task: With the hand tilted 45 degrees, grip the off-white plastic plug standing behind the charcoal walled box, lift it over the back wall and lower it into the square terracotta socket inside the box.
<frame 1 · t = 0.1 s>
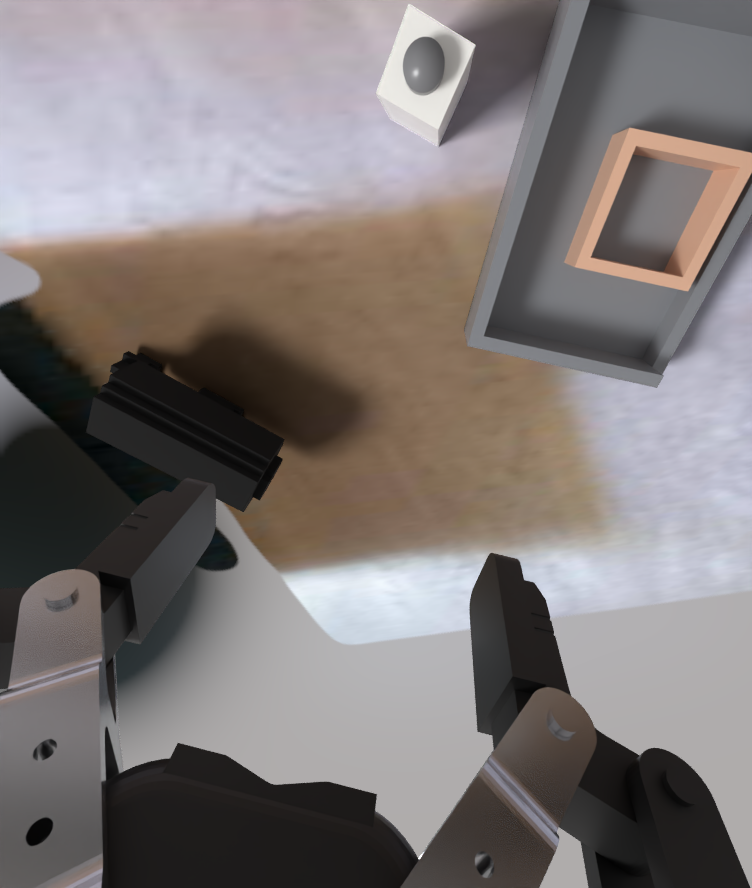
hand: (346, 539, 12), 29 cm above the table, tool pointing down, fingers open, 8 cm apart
security camera: (214, 402, 45), on the table
plug: (427, 101, 30), on the table
walled box: (610, 208, 32), on the table
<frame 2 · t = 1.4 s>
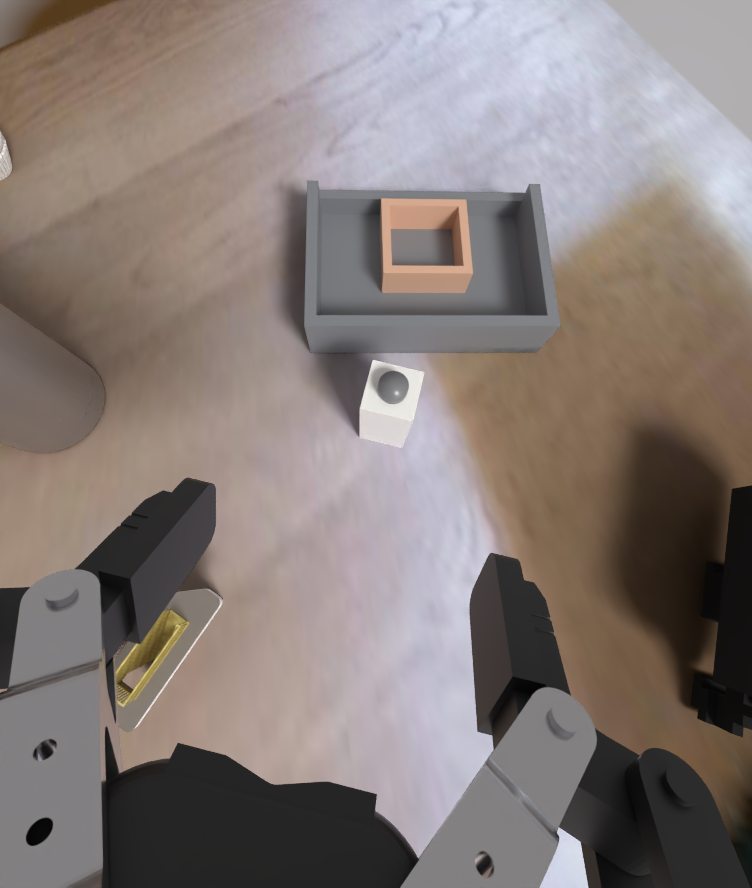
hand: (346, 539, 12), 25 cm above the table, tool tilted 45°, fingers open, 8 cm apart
security camera: (714, 602, 36), on the table
plug: (385, 422, 39), on the table
walled box: (421, 280, 43), on the table
platform: (185, 634, 34), on the table
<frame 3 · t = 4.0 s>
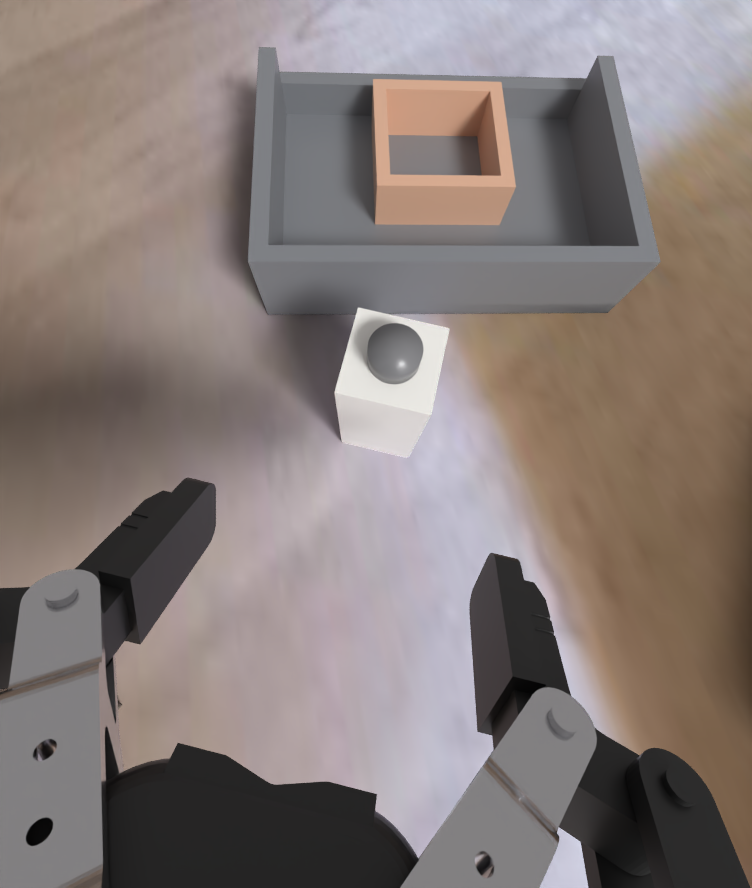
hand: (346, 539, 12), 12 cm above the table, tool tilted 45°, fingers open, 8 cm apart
plug: (382, 418, 25), on the table
walled box: (432, 210, 29), on the table
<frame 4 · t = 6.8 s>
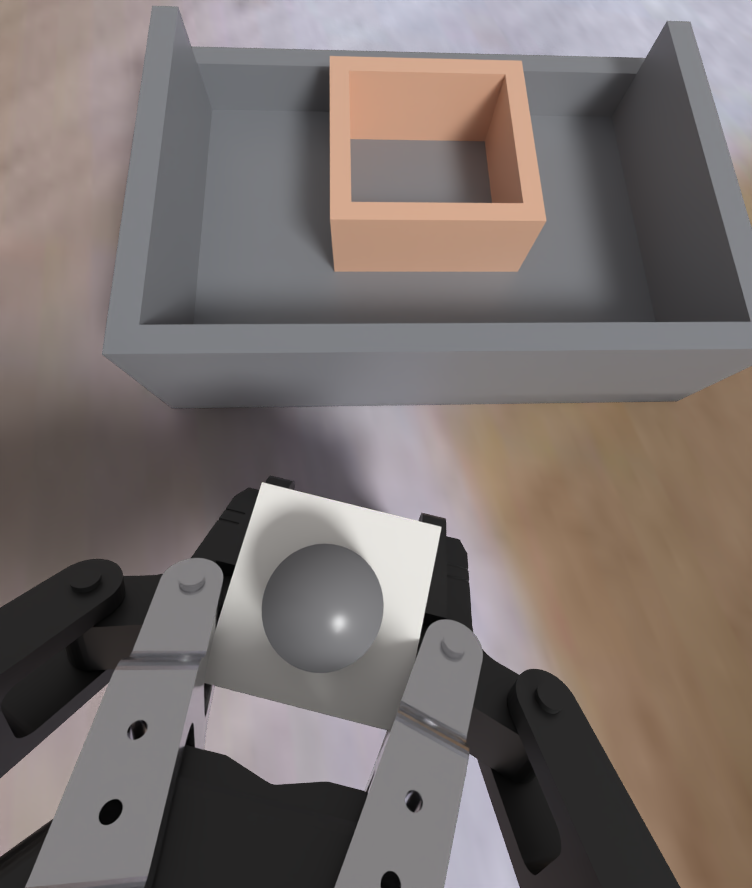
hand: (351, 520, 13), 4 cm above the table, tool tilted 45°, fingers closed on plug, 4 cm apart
plug: (341, 577, 16), on the table, touching gripper
walled box: (421, 247, 20), on the table
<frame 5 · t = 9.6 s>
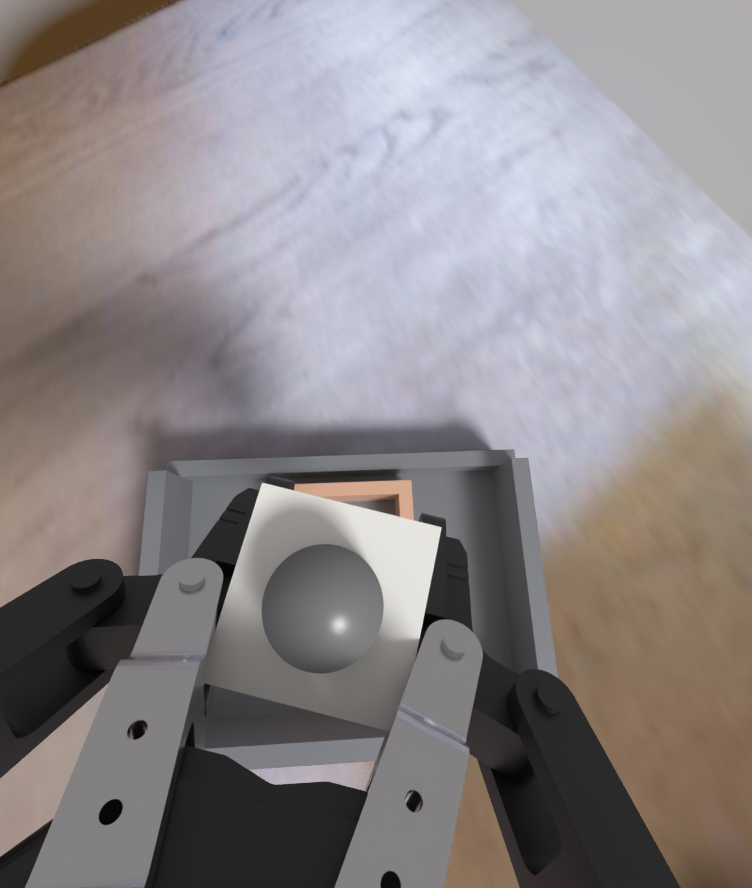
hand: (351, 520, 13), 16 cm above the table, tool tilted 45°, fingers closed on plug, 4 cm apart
plug: (341, 578, 16), point 12 cm above the table, touching gripper
walled box: (347, 584, 28), on the table
when the fingers open (6 cm above the table, at t = 12.4 s): plug stays where it is, resting on walled box.
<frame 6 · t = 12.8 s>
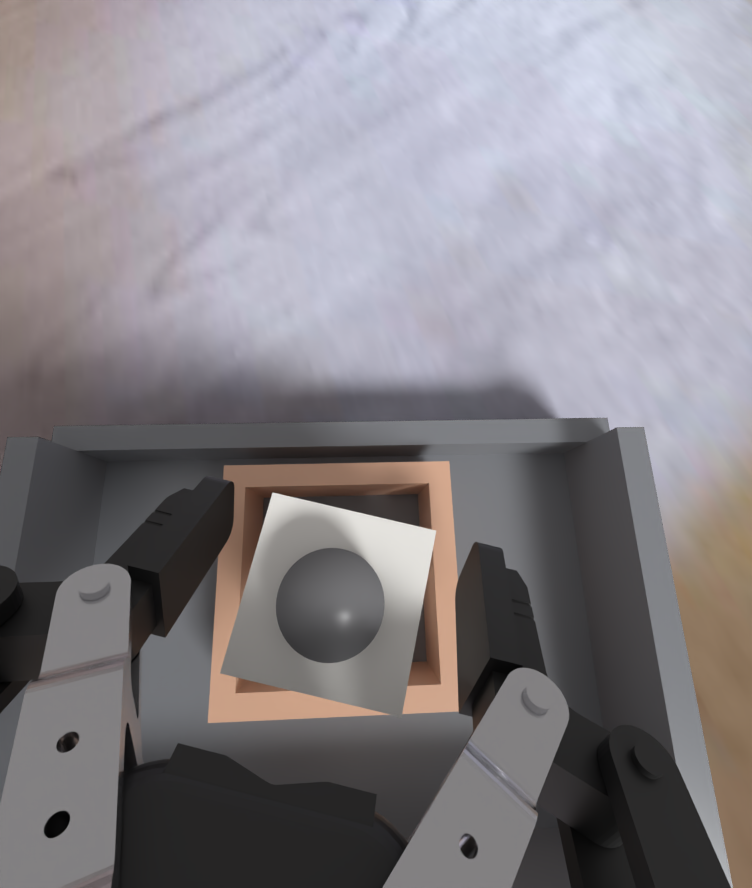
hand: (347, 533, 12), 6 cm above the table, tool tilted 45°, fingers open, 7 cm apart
plug: (344, 577, 17), point 1 cm above the table, touching walled box
walled box: (343, 624, 18), on the table
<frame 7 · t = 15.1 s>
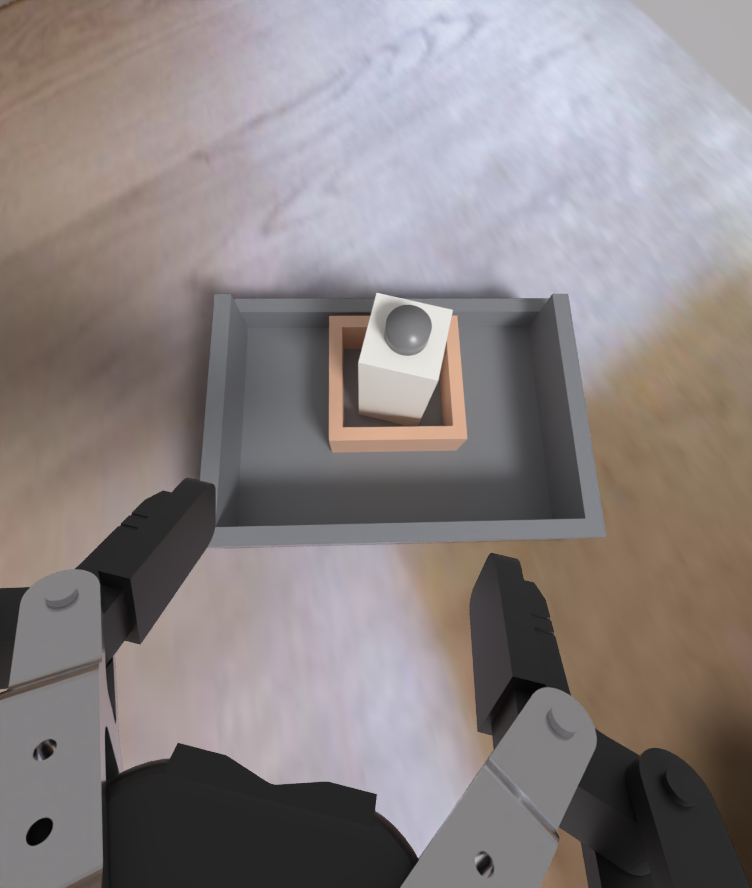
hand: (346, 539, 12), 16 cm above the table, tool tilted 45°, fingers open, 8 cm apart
plug: (394, 394, 29), point 1 cm above the table, touching walled box
walled box: (392, 425, 29), on the table
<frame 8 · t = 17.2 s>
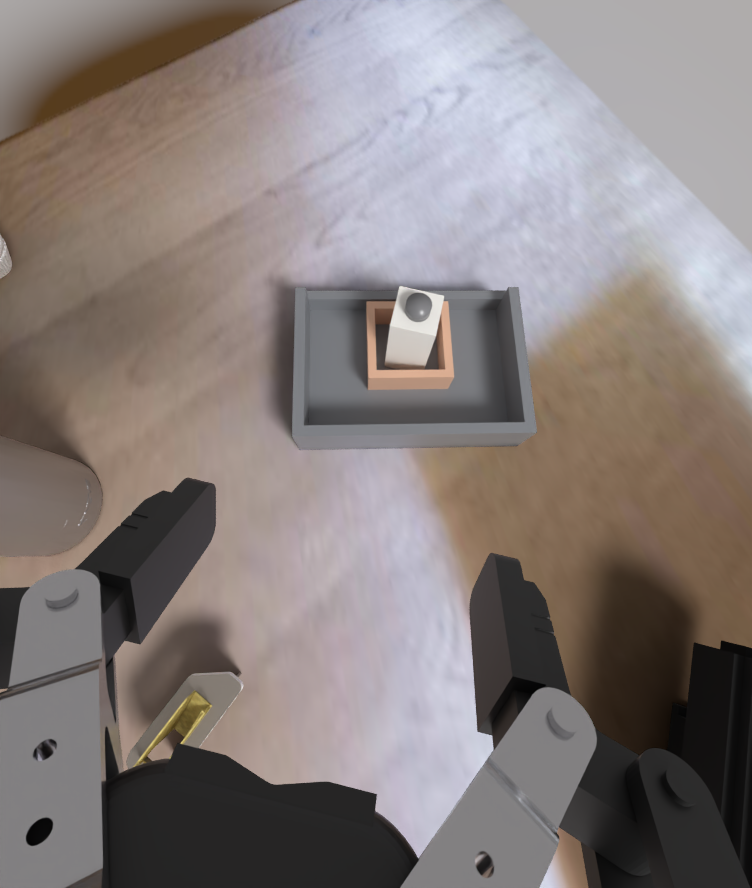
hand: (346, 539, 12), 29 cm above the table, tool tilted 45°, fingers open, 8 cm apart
security camera: (679, 743, 37), on the table
plug: (407, 353, 44), point 1 cm above the table, touching walled box
walled box: (405, 374, 45), on the table
platform: (204, 704, 37), on the table
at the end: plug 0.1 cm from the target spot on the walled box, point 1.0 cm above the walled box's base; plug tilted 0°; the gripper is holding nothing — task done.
